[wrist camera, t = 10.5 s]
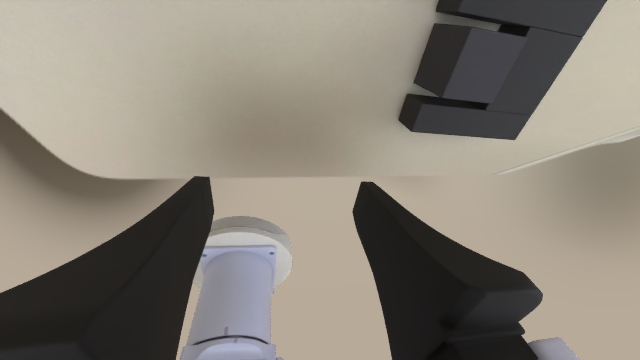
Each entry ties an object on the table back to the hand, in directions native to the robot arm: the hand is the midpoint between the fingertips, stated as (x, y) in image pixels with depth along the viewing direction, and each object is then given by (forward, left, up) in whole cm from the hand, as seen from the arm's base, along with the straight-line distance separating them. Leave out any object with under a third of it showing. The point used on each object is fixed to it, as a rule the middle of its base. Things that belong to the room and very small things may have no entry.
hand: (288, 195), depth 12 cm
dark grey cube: (+6, -12, -9) cm, 16 cm away
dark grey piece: (+6, -15, -9) cm, 18 cm away
